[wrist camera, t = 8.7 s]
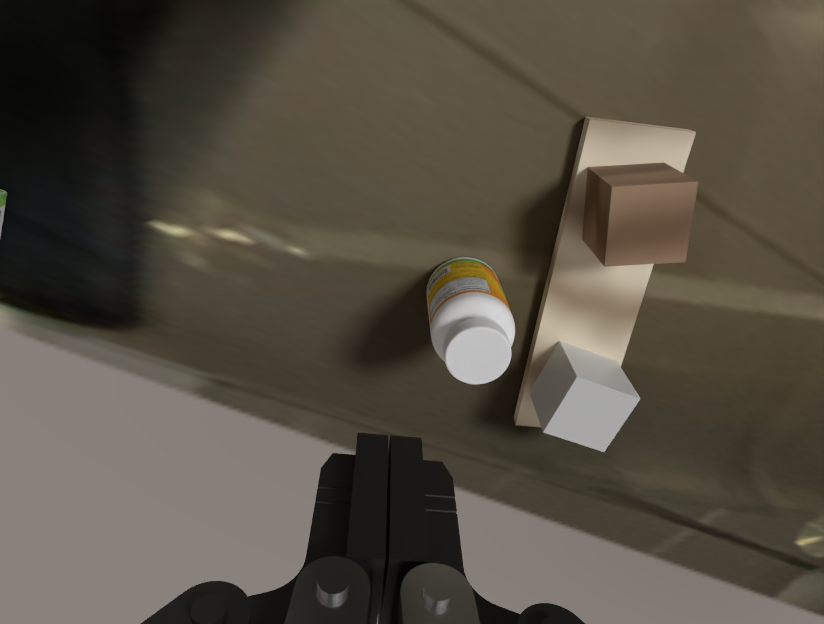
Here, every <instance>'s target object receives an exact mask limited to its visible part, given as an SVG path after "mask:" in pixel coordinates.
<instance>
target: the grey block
mask: <svg viewBox="0 0 824 624" xmlns="http://www.w3.org/2000/svg"><path fill="white" fill-rule="evenodd" d="M529 393H530V396H531V399H532V402H533V405H534V408H535V410H536V413H537V416H538V419H539V422H540V425H541V428H542V431H543V432H544V433H547V434H550V435H553V436H556V437H559V438H562V439H565V440H569V441H572V442H575V443H578V444H581V445H584V446H587V447H590V448H593V449H596V450H599V451H603V452H605V450H606V449H607V447H608V446H609V444H610V443H611V441H612V440H613V438H614V437H615V435H616V434H617V432H618V431H619V430H620V428H621V427H622V425H623V424H624V422H625V421H626V419H627V418H628V416H629V415H630V413H631V412H632V410H633V409H634V407H635V406H636V405H637V403H638V402H639V400H640V397H639V396H638V394H637V392H636V391H635V389H634V388H633V386H632V384H631V383H630V381H629V380H628V378H627V377H626V375H625V373H624V372H623V370H622V369H621V367H620V365H619V364H618V362H617V361H615V360H612V359H609V358H607V357H604V356H601V355H598V354H595V353H593V352H590V351H587V350H584V349H581V348H579V347H576V346H573V345H570V344H567V343H565V342H562V341H559V342H558V344H557V345H556V347H555V349H554V351H553V352H552V354H551V356H550V358H549V359H548V361H547V363H546V364H545V366H544V368H543V370H542V371H541V373H540V375H539V376H538V378H537V380H536V382H535V383H534V385H533V387H532V389H531V390H530V392H529Z"/></svg>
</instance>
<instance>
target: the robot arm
mask: <svg viewBox="0 0 824 624" xmlns="http://www.w3.org/2000/svg"><path fill="white" fill-rule="evenodd" d="M456 511H457V510H456V502H455V493H454V484H453V478H452V476H451V475H450V473H449V472H448V470H447V469H446V467H445V466H444V464H443V462H439V461H426V460H423V454H422V440H421V438H417V437H405V436H393V435H391V436H390V441H389V449H388V435H379V434H367V433H358V436H357V446H356V455H349V454H337V453H333V454H332V455H331V456H330V457H329V459H328V460H327V461H326V462H325V464H324V465H323V466H322V468H321V472H320V478H319V484H318V490H317V495H316V502H315V508H314V513H313V519H312V525H311V532H310V537H309V543H308V549H307V554H306V559H305V563H304V565H303V567H302V569H301V570H300V572H299V573H298V575H297V576H296V577H295V578H294V579H292V580H291V581H290V582H289V583H287V584H286V585H284V586H282V587H280V588H278V589H276V590H273V591H269V592H265V593H261V594H257V595H252V596H248V597H247V595H246V594H245V593H244V592H243V590H242V589H240V588H239V587H237V586H236V585H234V584H231V583H228V582H223V581H210V582H205V583H201V584H198V585H196V586H194V587H191V588H190V589H188V590H187V591H185V592H184V593H183V594H181V595H179V596H178V597H177V598H175V599H174V600H173V601H171V602H170V603H169V604H167V605H166V606H164V607H163V608H162V609H160V610H159V611H157V612H156V613H155V614H153V615H152V616H151V617H149V618H148V619H147V620H145V621H144V622H143V623H141V624H377V617H378V624H585V623H584V622H583V621H581V620H580V619H579V618H578V617H577V616H576V615H574V614H573V613H572V612H570V611H569V610H567V609H565V608H563V607H561V606H557V605H554V604H549V603H540V604H535V605H532V606H530V607H528V608H526V609H525V610H524V611H523V612H522V613H521V614H518V613H515V612H513V611H510V610H507V609H505V608H502V607H499V606H497V605H495V604H492V603H490V602H489V601H487V600H485V599H484V598H483V597H481V596H480V595H479V594H478V593H477V592H476V591H475V590H474V589H473V588H472V586H471V585H470V583H469V582H468V580H467V578H466V576H465V573H464V568H463V560H462V552H461V544H460V535H459V527H458V518H457V514H456Z"/></svg>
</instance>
